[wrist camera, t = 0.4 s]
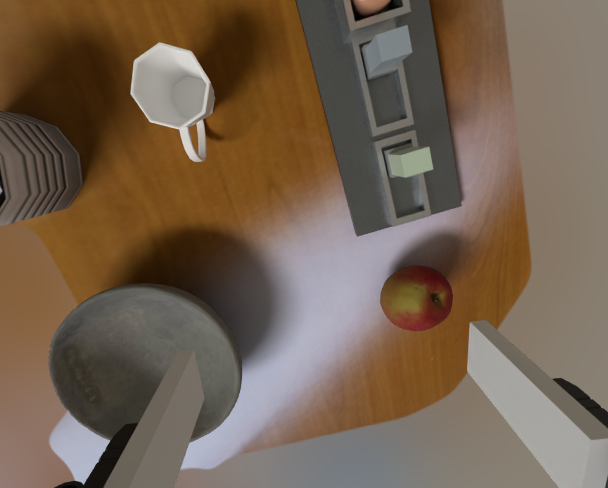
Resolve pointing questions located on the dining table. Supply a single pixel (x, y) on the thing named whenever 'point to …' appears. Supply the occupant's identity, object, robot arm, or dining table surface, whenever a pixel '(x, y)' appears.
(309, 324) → the dining table surface
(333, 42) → the panel
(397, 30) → the block
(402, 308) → the apple
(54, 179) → the can
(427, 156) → the slider sage
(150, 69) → the cup
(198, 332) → the bowl
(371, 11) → the button terracotta
